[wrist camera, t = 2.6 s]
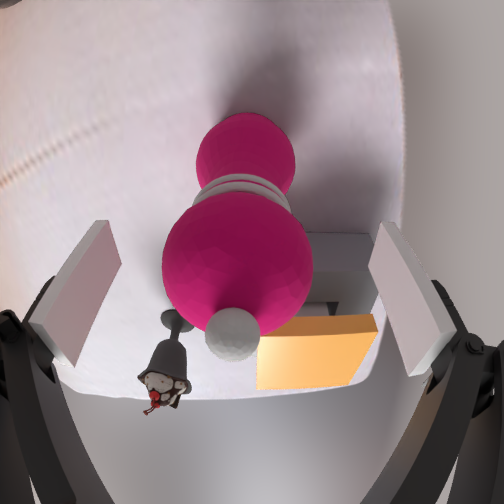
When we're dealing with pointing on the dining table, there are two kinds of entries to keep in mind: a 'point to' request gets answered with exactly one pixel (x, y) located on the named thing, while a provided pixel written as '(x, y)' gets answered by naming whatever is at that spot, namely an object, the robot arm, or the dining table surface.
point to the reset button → (314, 349)
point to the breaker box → (341, 273)
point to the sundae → (168, 365)
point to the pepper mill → (239, 240)
